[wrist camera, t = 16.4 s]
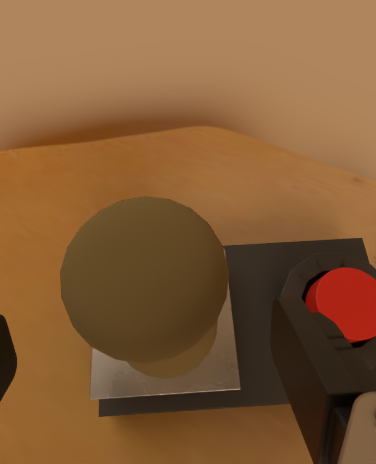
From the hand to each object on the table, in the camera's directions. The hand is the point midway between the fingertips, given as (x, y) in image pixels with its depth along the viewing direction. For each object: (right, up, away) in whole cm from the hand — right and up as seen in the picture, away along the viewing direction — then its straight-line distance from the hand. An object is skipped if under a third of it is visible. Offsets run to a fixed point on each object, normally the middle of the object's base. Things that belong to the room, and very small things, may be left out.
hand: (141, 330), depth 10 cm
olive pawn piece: (0, -2, +9) cm, 10 cm away
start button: (+10, -2, +10) cm, 15 cm away
